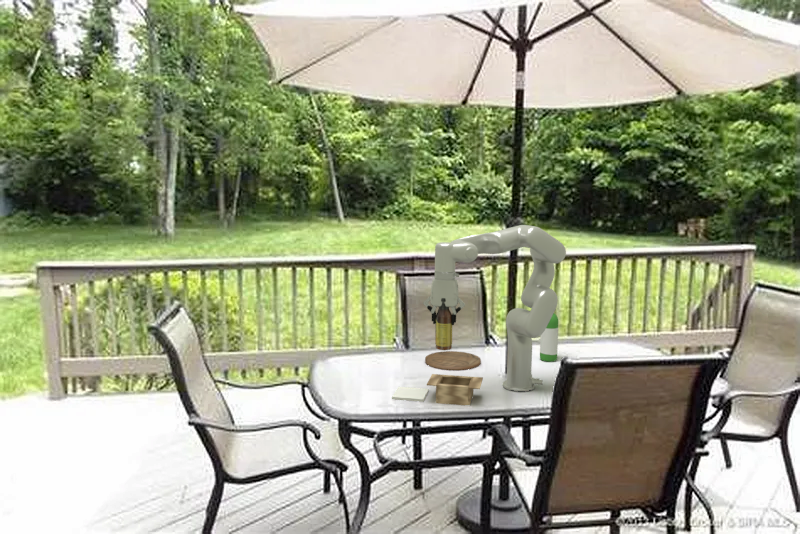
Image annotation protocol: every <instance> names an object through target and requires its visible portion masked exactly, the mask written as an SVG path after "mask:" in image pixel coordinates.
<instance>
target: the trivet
mask: <svg viewBox="0 0 800 534" xmlns="http://www.w3.org/2000/svg"><path fill="white" fill-rule="evenodd" d="M481 362H482V360H481V357H480V356H478V355H476V354H475V353H474V354H473V353H469V352H465V351H457V350H456V351H455V350H453V351H451V350H449V351H448V350H443V351H438V352H437V351H436V352H431V353H429V354H428V355H426V356H425V359H424V363H425V364H426V366H428V365H429V366H428V367H430V368H433V369H437V370H442V371H449V372H451V371H453V372H455V371H456V372H457V371H458V372H459V371H468V369H469V370H473V369H476V368H478V367H479V365H480V366H481V364H482V363H481Z"/></svg>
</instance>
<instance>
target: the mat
mask: <svg viewBox="0 0 800 534" xmlns="http://www.w3.org/2000/svg"><path fill="white" fill-rule="evenodd" d="M429 391H430V388H423V387H420V388H419V387H409V386H408V387H407V386H398V387H397V388H396V390H395V392H394V393H393V394H392V397H391V400H392V399H395V400H394V401H396V400H397V401H404V400H406V401H407V402H417V401H419V403H424V402H425V399H426V398H427V396H428V394H429ZM406 401H405V402H406Z"/></svg>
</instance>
